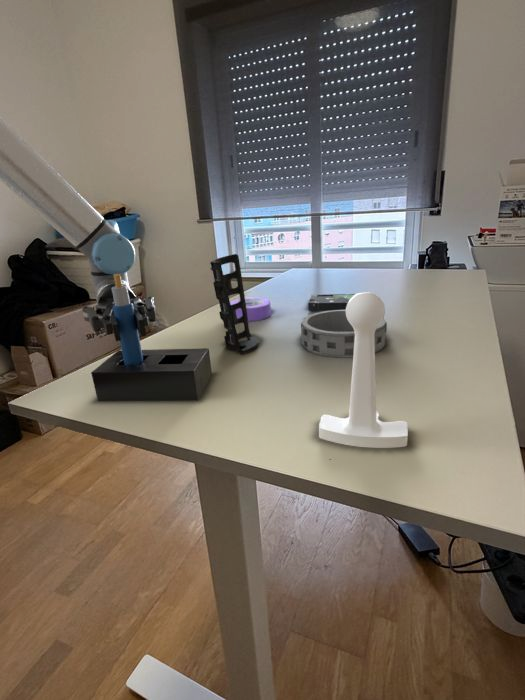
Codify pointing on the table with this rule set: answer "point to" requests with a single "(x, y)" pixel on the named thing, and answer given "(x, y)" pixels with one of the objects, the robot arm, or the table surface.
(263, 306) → the tape roll
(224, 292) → the holder
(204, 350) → the two-slot black box
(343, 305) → the disk drive
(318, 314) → the ring
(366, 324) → the joystick
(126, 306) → the soldering iron
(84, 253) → the robot arm
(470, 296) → the table surface
